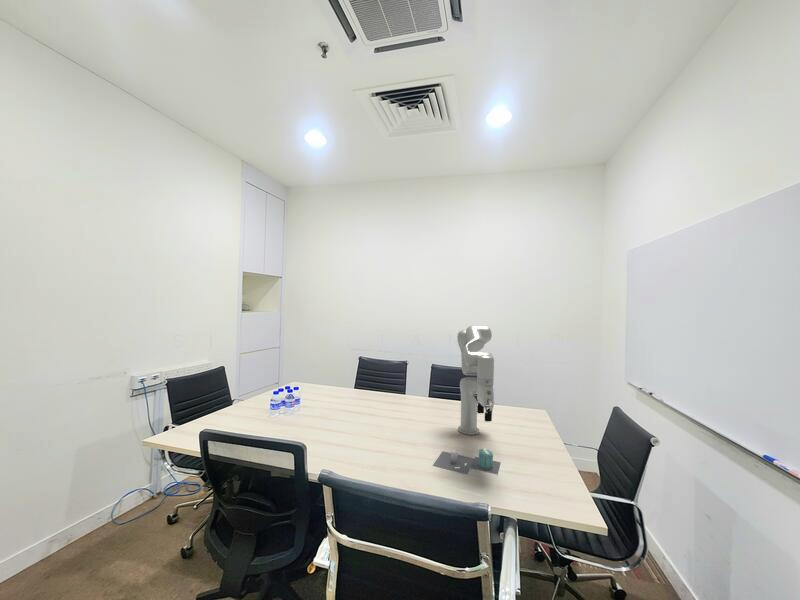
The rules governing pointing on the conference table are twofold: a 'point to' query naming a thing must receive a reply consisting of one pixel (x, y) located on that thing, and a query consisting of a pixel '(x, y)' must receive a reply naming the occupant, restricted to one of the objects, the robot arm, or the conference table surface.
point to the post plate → (447, 463)
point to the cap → (485, 458)
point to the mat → (491, 470)
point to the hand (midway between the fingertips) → (484, 416)
